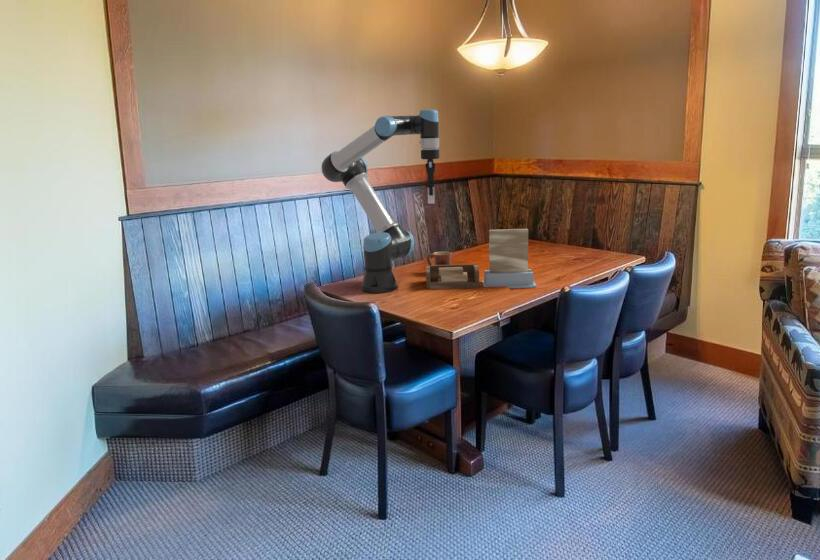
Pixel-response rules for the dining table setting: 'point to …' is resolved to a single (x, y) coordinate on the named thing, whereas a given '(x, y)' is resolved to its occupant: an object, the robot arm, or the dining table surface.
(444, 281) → the offcut low
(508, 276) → the slotted stand
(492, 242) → the birch board
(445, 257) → the mug
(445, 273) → the offcut top
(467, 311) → the dining table surface
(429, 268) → the rack
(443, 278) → the offcut mid
